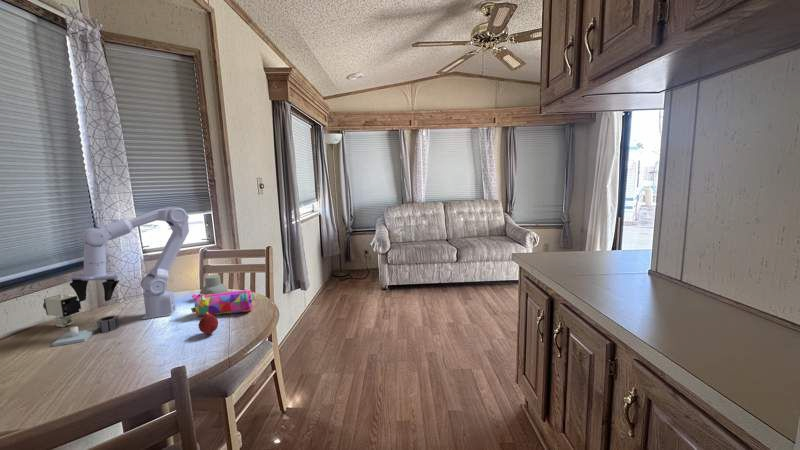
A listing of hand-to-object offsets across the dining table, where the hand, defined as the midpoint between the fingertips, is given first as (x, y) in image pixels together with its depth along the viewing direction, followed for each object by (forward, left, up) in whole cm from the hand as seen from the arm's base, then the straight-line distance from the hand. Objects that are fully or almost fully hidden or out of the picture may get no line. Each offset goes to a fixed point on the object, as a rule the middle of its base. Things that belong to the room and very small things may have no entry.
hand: (95, 300), depth 115 cm
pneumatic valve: (+14, -12, -12) cm, 22 cm away
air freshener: (-34, -22, -12) cm, 42 cm away
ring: (-3, 0, -11) cm, 12 cm away
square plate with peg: (+5, +4, -11) cm, 13 cm away
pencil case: (-40, +1, -12) cm, 42 cm away
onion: (-37, +20, -12) cm, 44 cm away
